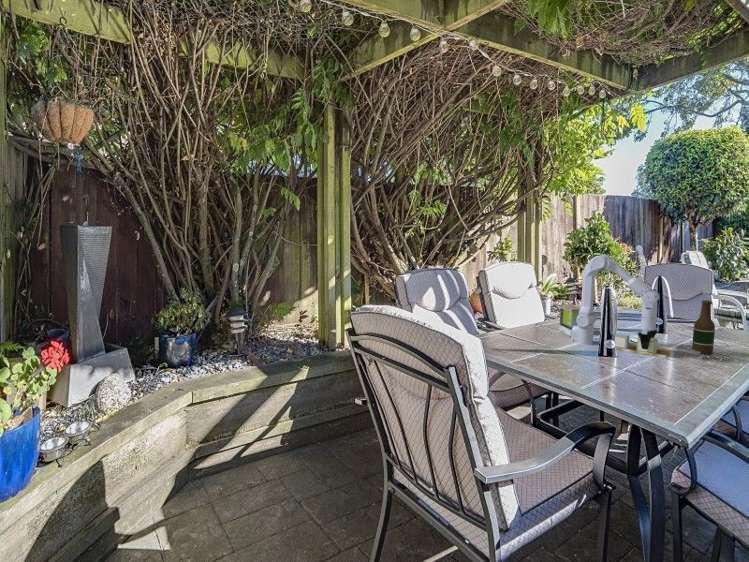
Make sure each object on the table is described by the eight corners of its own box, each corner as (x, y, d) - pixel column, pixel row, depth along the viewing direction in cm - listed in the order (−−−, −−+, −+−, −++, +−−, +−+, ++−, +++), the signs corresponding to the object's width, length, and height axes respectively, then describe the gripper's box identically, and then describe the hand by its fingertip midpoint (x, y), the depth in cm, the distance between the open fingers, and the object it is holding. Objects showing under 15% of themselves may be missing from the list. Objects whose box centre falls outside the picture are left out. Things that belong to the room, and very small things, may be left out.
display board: (604, 350, 208) (604, 344, 207) (615, 343, 221) (615, 337, 221) (665, 360, 192) (665, 354, 191) (672, 352, 205) (673, 346, 205)
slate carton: (609, 347, 208) (610, 334, 207) (611, 345, 211) (612, 332, 210) (626, 350, 203) (627, 336, 202) (628, 348, 206) (629, 334, 206)
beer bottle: (690, 352, 204) (694, 300, 201) (693, 349, 210) (697, 298, 207) (711, 356, 199) (716, 302, 196) (713, 352, 205) (718, 300, 202)
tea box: (589, 337, 233) (591, 309, 232) (570, 337, 233) (571, 309, 232) (576, 330, 248) (578, 304, 247) (558, 330, 248) (560, 304, 247)
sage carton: (636, 352, 200) (637, 338, 200) (638, 350, 204) (639, 336, 203) (654, 355, 196) (655, 340, 195) (656, 353, 199) (657, 338, 198)
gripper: (656, 321, 190) (653, 352, 192) (662, 316, 201) (660, 345, 202) (637, 318, 195) (634, 349, 196) (644, 314, 205) (642, 343, 207)
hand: (646, 347), depth 200 cm, fingers open, 7 cm apart
